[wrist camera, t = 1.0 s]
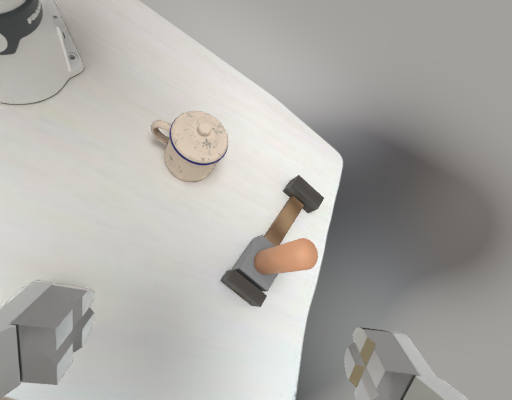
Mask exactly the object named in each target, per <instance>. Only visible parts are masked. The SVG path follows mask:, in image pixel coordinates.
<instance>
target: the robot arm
mask: <svg viewBox="0 0 512 400" xmlns="http://www.w3.org/2000/svg"><path fill="white" fill-rule="evenodd" d="M71 58H74V59H71ZM83 69H84V65H83V63H82V60H81V58H80V56H79V54H78V51H77V49H76V47H75V45H74V43H73V41H72V38H71V36H70V34H69V32H68V30H67V28H66V25H65V23H64V21H63V19H62V17H61V15H60V12H59V10H58V8H57V6H56V4H55V2H54V0H0V102H1V103H8V104H28V103H34V102H38V101H42V100H44V99H47V98H49V97H51V96H53V95H54V94H56V93H57V92H58V91H59V90H60V89H61V88H62V87H63V86H64V85H65V83H66V82H67V81H68V79H70V78H71V77H73V76H75V75H77V74H79V73H80V72H82V71H83ZM93 302H94V291H93V290H92V289H90V288H84V287H78V286H72V285H66V284H60V283H52V282H46V281H40V280H37V281H34V282H32V283H30V284H29V285H28V286H27V287H26V288H25V289H23V290H22V291H21V292H20V293H19V294H17V295H16V296H15V297H14V298H13V299H12V300H10V301H9V302H8V303H7V304H6V305H5V306H3V307H2V308H1V309H0V398H1V397H3V396H4V395H6V394H7V393H9V392H10V391H11V390H13V389H14V388H16V387H17V386H19V385H20V384H21V382H28V383H41V384H54V385H57V384H58V383H59V381H60V380H61V378H62V377H63V375H64V374H65V372H66V371H67V369H68V368H69V366H70V365H71V363H72V362H73V352H75V351H77V350H79V349H80V348H82V347H83V345H84V343H85V342H86V340H87V339H88V336H89V334H90V331H91V329H92V325H93V321H94V312H93V311H92V310H91V308H90V306H91V304H92V303H93ZM352 337H353V339H354V343H353V344H351V345H350V346H349V347H348V348H347V351H346V354H345V370H346V374H347V377H348V379H349V381H350V382H351V383H352V384H353V385H354V386H355V387H356V390H355V393H354V395H355V398H356V400H469V399H468V398H466V397H465V396H464V395H462V394H461V393H460V392H458V391H457V390H456V389H454V388H453V387H452V386H450V385H449V384H448V383H447V382H445V381H444V380H443V379H438V378H437V377H436V376H435V374H434V373H433V372H432V370H431V369H430V367H429V366H428V364H427V363H426V362H425V360H424V359H423V357H422V356H421V354H420V353H419V352H418V350H417V349H416V347H415V346H414V344H413V343H412V342H411V340H410V339H409V337H408V336H407V335H406V334H404V333H403V332H395V331H385V330H377V329H370V328H362V327H358V328H357V329H356V330H355V332H354V334H353V336H352Z"/></svg>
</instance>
